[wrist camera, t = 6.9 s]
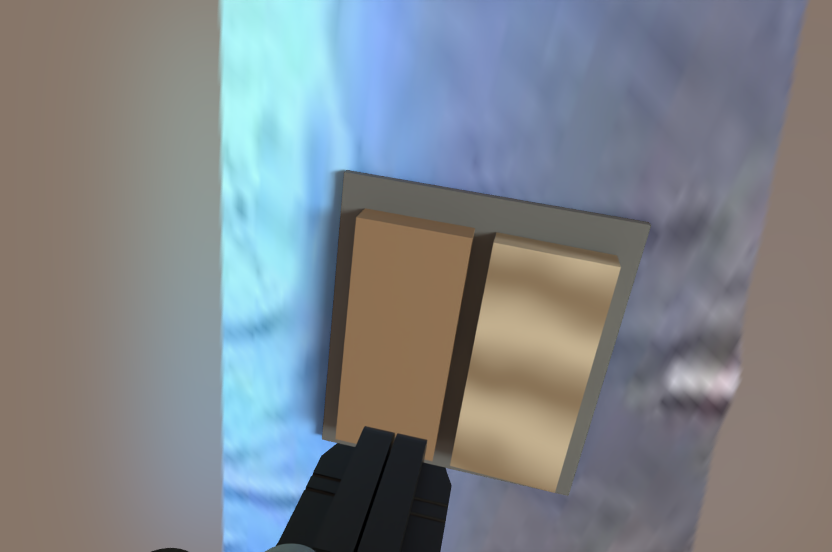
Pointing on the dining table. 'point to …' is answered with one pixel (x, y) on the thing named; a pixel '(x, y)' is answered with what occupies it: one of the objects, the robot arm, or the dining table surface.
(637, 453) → the dining table surface
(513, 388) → the oak plank
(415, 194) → the floor section
